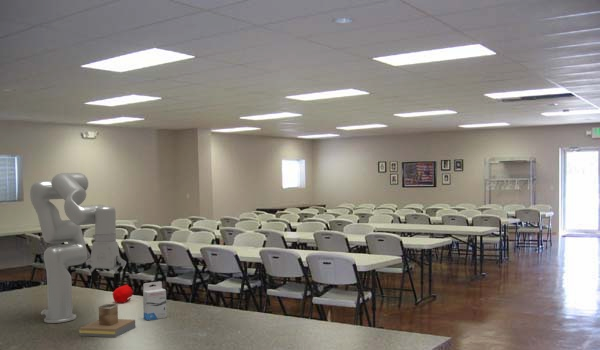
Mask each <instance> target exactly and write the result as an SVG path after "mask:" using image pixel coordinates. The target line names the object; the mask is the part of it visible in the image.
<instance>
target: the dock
mask: <svg viewBox="0 0 600 350" xmlns="http://www.w3.org/2000/svg"><path fill="white" fill-rule="evenodd" d="M135 328H136V319H125V318H118V323H115V324H113V325H111V326H107V325H99V319H98V320H94V321H92V322H91V323H87V324H85V325H84V326H81V327H79V330H78V331H79V335H80V337H99V338H100V337H101V338H117V337H118V336H121V335H123V334H125V333H127V332H129V331H130V330H133V329H135Z"/></svg>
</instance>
